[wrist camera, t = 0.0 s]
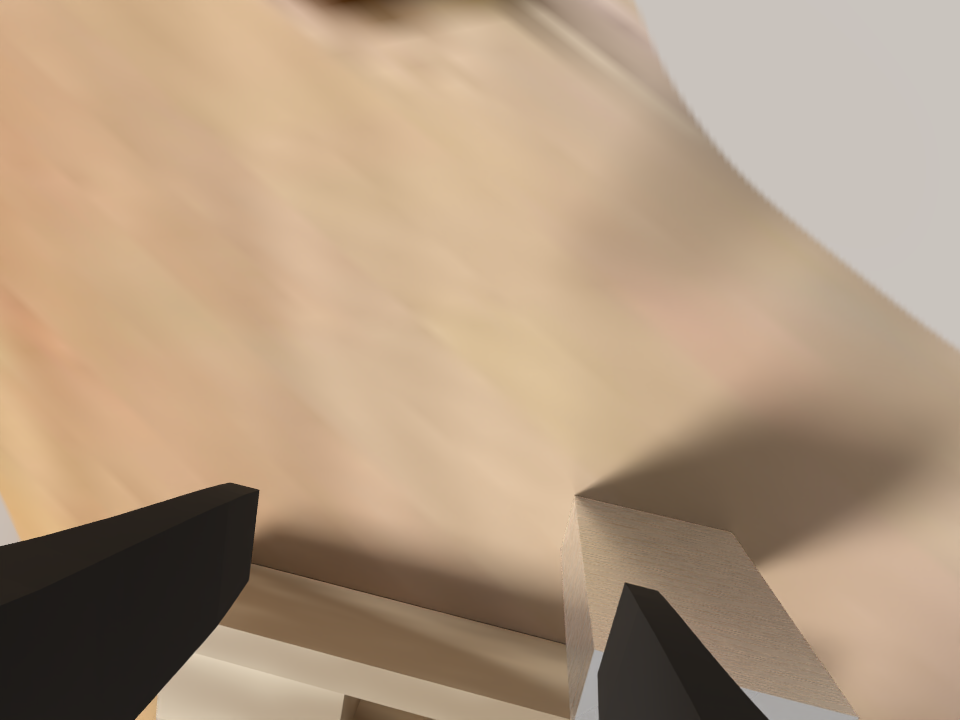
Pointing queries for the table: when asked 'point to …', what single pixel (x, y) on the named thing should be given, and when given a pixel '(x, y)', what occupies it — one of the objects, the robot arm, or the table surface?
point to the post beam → (360, 662)
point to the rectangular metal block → (686, 608)
